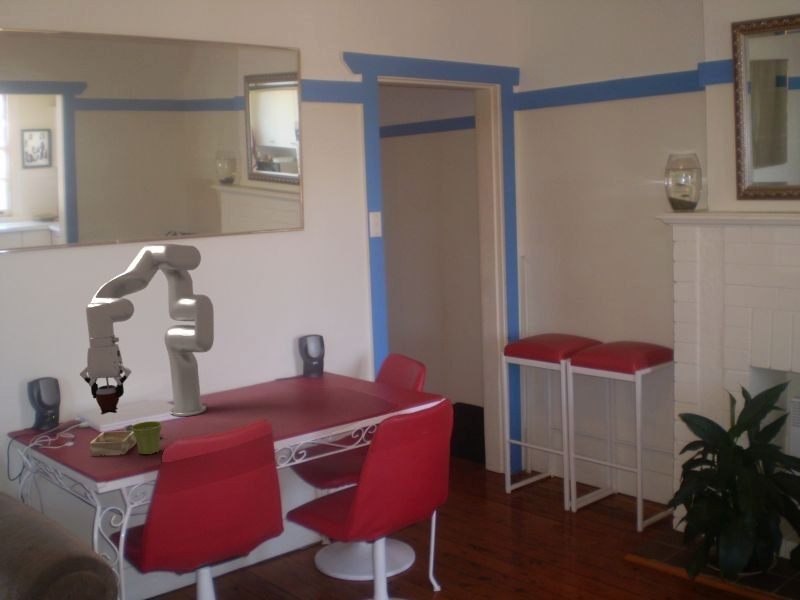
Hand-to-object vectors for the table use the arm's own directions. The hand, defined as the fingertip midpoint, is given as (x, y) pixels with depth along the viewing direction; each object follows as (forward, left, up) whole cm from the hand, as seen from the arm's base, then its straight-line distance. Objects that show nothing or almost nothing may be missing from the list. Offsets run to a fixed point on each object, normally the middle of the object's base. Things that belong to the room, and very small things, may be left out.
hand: (108, 396), depth 297 cm
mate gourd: (0, 0, -5) cm, 5 cm away
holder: (0, 0, -17) cm, 17 cm away
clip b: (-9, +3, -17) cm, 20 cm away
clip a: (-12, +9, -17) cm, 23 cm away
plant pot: (+4, +13, -18) cm, 22 cm away
